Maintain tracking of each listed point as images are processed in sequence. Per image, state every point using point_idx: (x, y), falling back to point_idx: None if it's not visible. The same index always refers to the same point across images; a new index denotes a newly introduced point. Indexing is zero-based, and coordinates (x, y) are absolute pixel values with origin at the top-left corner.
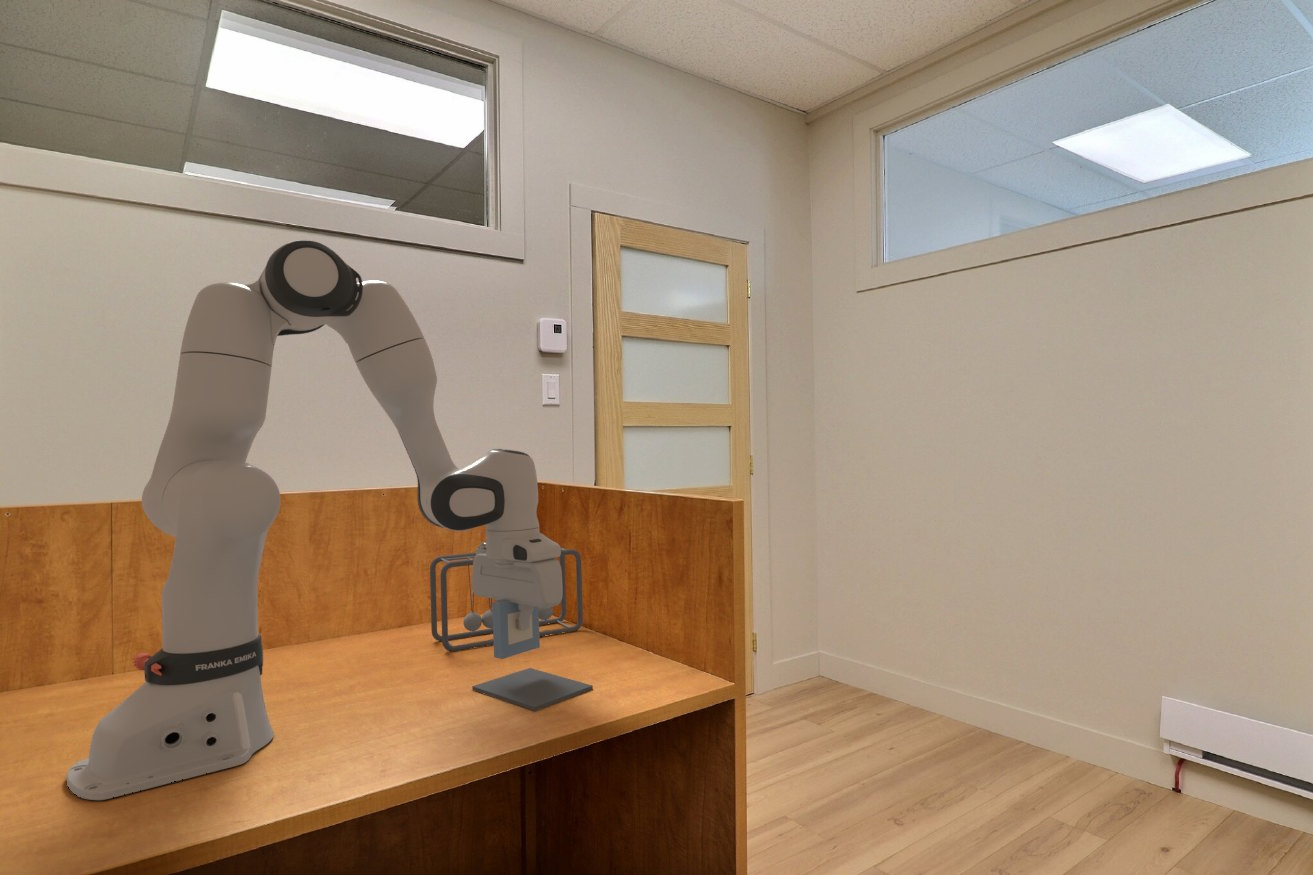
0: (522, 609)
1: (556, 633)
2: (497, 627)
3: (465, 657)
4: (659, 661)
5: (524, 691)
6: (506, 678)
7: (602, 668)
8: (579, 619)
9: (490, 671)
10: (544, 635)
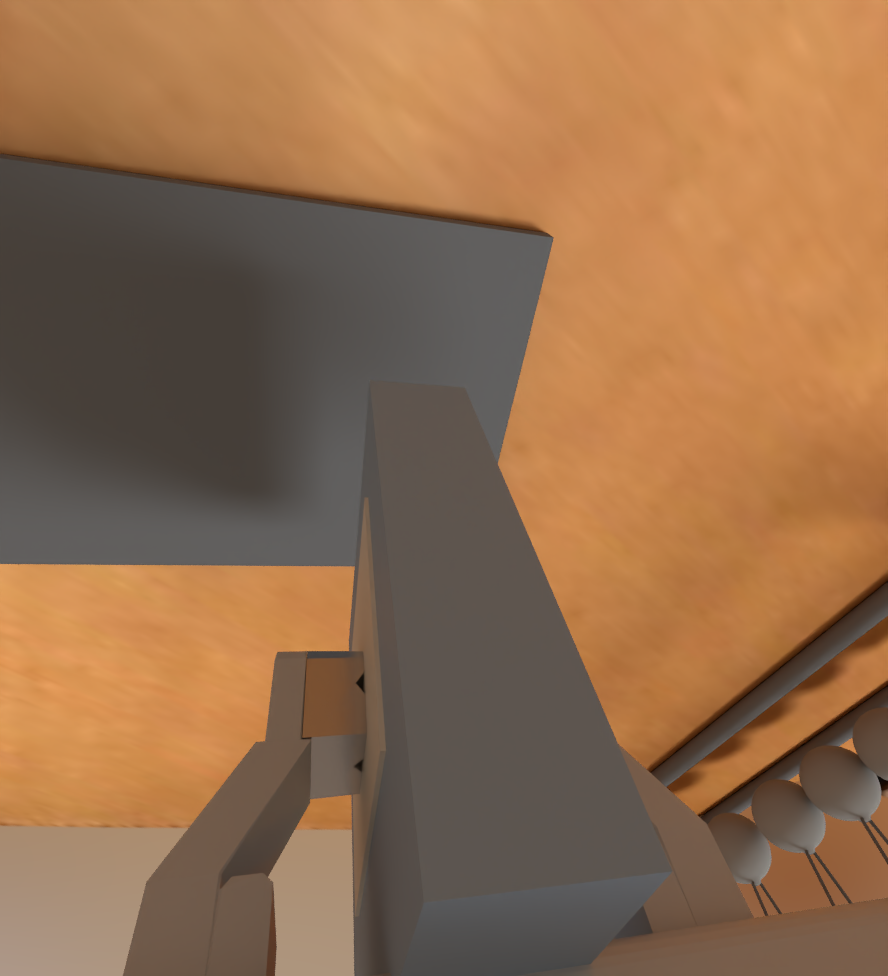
0: (176, 902)
1: None
2: (446, 543)
3: (847, 531)
4: (133, 805)
5: (197, 332)
6: None
7: (235, 697)
8: None
9: (639, 476)
10: (670, 760)
